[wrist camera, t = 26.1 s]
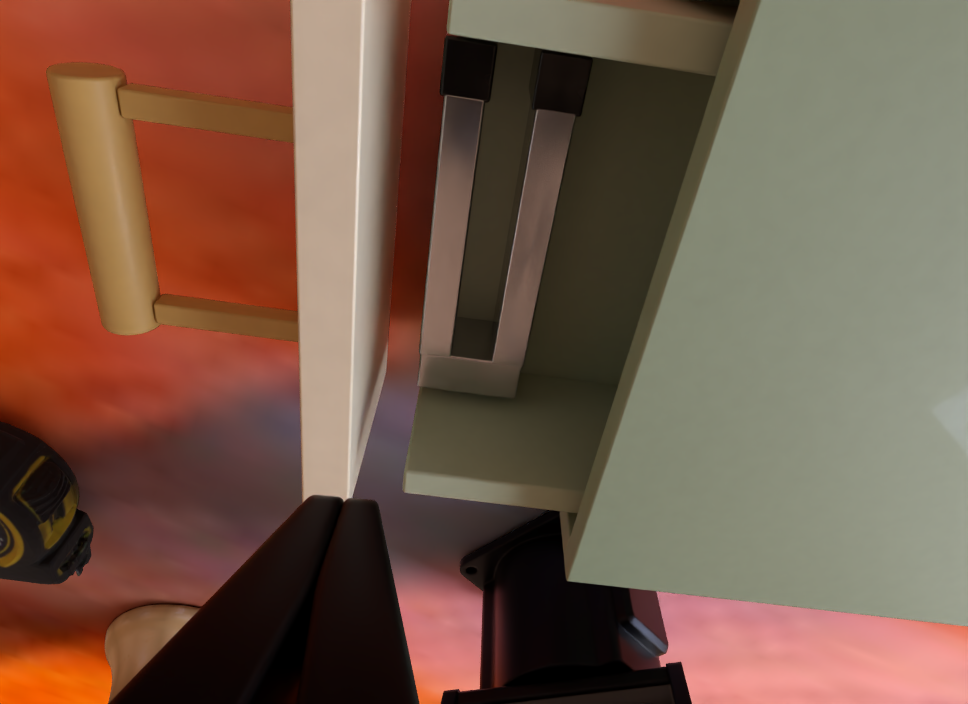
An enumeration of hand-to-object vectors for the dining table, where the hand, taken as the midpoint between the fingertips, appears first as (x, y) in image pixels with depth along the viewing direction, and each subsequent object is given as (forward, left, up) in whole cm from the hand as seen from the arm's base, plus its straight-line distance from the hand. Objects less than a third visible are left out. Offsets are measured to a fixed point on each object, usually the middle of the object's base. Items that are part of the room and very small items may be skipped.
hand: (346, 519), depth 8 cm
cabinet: (+8, -9, -13) cm, 18 cm away
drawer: (+1, -1, -12) cm, 12 cm away
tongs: (+1, -1, -11) cm, 11 cm away
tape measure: (-21, +2, -13) cm, 25 cm away
